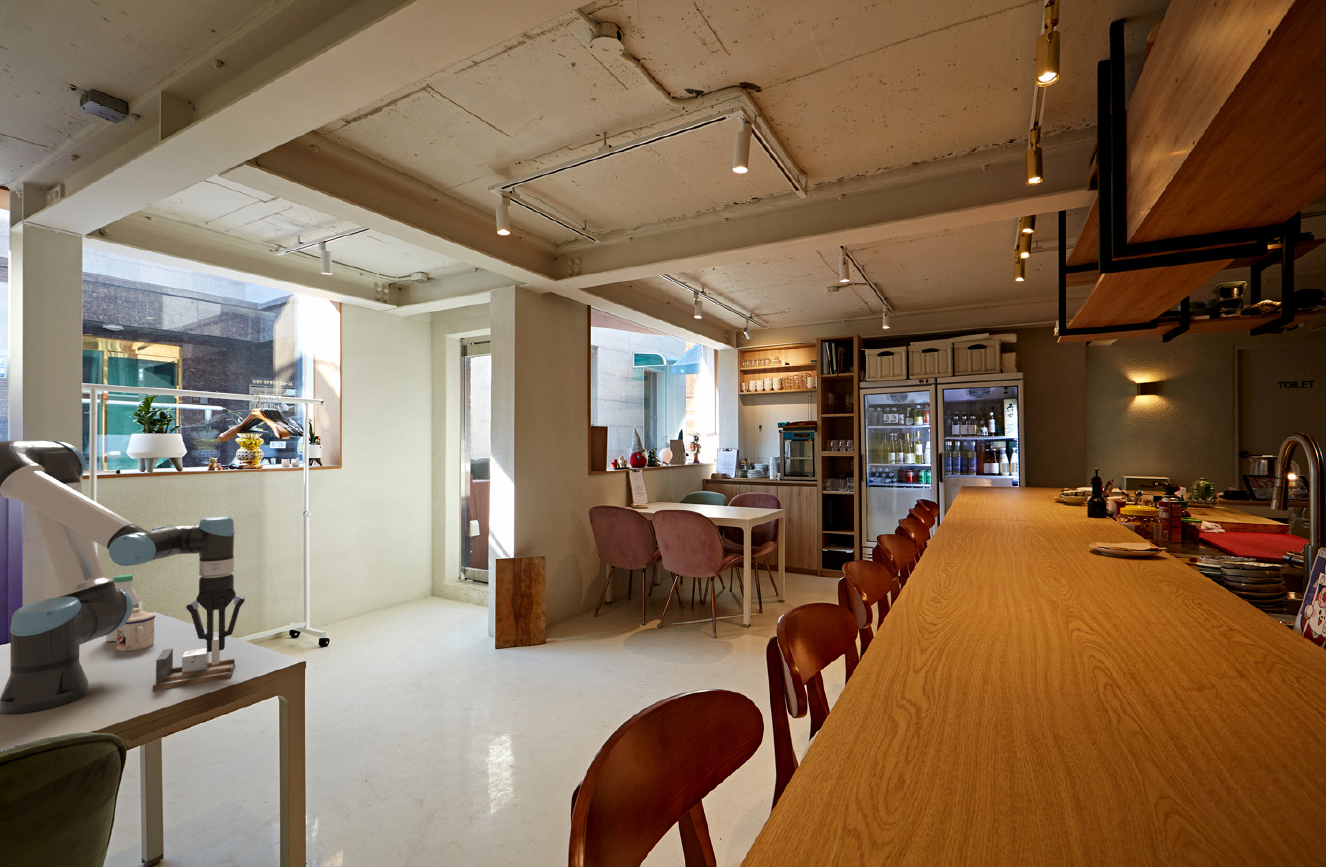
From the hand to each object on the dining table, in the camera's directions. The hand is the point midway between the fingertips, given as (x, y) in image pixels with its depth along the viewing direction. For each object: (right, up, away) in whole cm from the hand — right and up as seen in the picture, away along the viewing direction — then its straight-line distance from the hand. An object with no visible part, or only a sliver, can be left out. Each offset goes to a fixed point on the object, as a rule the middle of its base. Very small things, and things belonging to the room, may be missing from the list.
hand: (215, 662), depth 162 cm
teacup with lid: (-40, -4, +21) cm, 45 cm away
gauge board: (-4, -3, -2) cm, 5 cm away
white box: (-3, -1, -4) cm, 5 cm away
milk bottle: (-52, -4, +30) cm, 60 cm away
